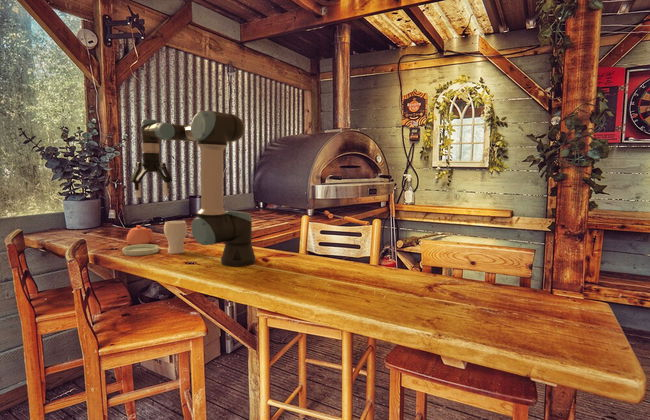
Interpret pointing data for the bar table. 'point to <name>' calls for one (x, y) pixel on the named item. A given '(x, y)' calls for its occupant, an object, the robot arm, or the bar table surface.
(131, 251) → the dish
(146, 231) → the sugar bowl
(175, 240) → the cup
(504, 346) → the bar table surface
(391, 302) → the bar table surface
